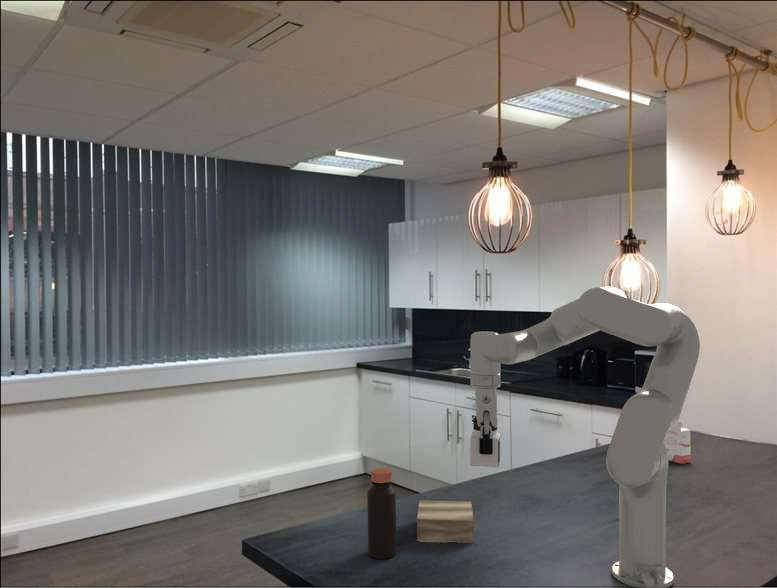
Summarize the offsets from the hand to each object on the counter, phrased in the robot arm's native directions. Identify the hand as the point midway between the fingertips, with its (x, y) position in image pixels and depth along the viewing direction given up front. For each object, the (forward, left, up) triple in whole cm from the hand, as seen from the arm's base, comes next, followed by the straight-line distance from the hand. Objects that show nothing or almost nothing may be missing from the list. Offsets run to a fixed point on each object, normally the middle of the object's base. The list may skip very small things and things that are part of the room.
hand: (485, 449), depth 164 cm
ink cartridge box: (+74, -72, -23) cm, 105 cm away
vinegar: (-12, +25, -22) cm, 36 cm away
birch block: (+3, +10, -23) cm, 25 cm away
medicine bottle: (0, 0, -4) cm, 4 cm away
